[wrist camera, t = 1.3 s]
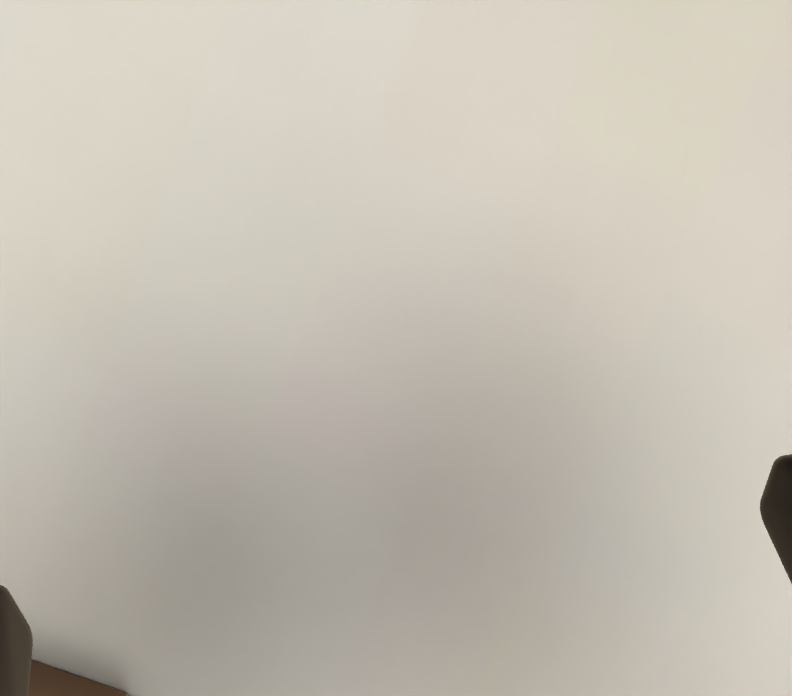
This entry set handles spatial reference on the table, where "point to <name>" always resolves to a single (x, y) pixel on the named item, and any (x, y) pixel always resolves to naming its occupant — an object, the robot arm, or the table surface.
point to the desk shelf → (64, 683)
